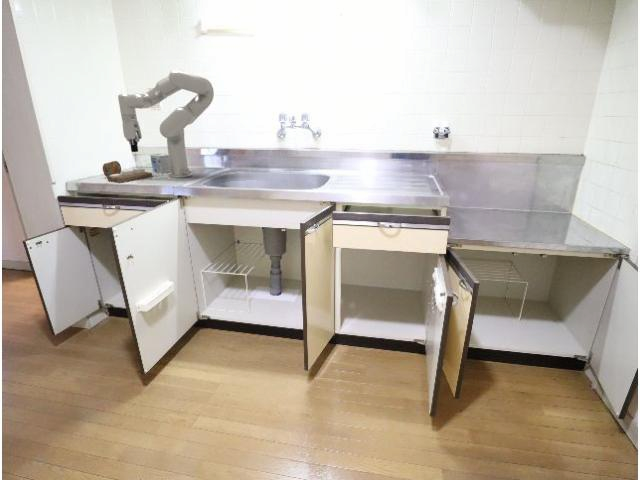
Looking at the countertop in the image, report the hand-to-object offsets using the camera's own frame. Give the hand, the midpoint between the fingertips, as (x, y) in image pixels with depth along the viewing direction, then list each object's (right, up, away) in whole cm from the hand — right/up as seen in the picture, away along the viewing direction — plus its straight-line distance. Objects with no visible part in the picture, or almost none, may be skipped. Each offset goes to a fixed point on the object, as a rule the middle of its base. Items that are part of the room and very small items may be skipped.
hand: (134, 151), depth 206 cm
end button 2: (0, -12, +5) cm, 13 cm away
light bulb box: (+7, -8, +21) cm, 23 cm away
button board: (-2, -16, -2) cm, 16 cm away
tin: (-17, -13, +8) cm, 23 cm away
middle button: (-3, -14, -1) cm, 15 cm away
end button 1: (-7, -17, -6) cm, 20 cm away
